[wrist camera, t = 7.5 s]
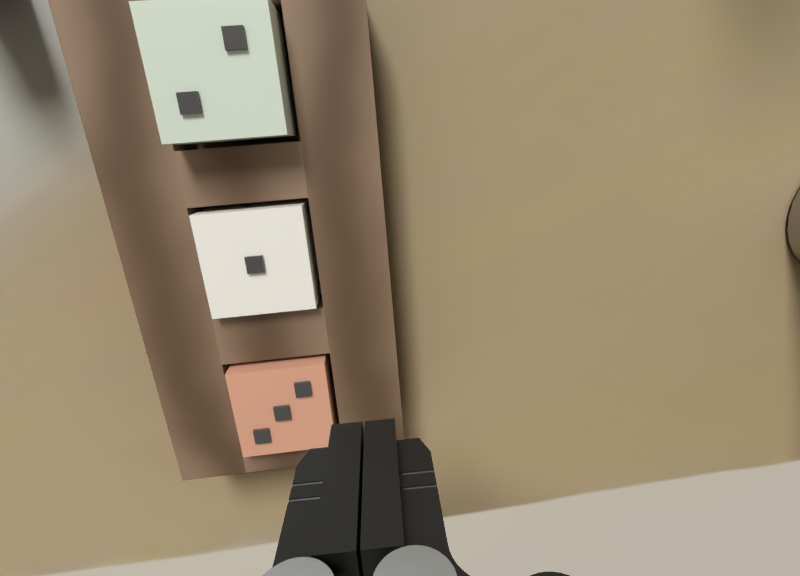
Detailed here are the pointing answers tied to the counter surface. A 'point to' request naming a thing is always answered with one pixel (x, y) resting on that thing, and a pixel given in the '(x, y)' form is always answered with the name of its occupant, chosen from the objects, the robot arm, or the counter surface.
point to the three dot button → (283, 403)
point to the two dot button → (215, 69)
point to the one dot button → (257, 257)
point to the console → (238, 184)
